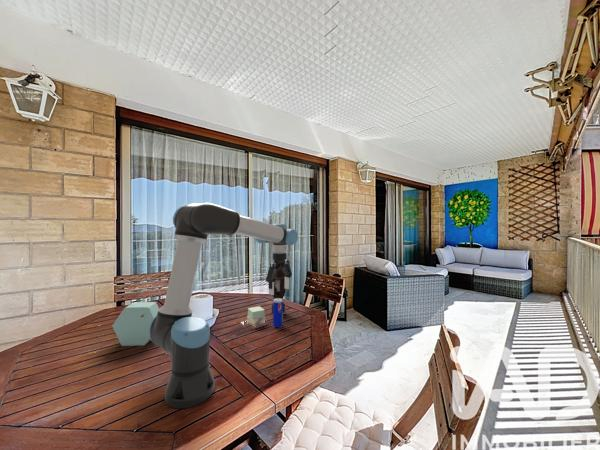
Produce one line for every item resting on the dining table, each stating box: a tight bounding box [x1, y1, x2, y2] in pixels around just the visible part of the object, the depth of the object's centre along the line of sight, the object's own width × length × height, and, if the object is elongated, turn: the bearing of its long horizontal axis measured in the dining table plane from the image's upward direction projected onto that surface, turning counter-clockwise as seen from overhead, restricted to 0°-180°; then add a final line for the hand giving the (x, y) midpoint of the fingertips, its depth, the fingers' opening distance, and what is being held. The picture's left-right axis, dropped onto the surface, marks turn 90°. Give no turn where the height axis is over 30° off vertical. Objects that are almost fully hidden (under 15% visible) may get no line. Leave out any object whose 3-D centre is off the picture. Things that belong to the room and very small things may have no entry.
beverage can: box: [272, 298, 284, 328], centre depth 139 cm, size 5×5×15 cm
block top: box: [247, 306, 266, 320], centre depth 142 cm, size 7×7×4 cm
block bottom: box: [246, 315, 266, 327], centre depth 142 cm, size 7×7×4 cm
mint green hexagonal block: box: [112, 301, 160, 347], centre depth 120 cm, size 17×8×21 cm
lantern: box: [271, 268, 287, 314], centre depth 159 cm, size 15×15×30 cm
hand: (279, 291), depth 138 cm, fingers open, 13 cm apart
